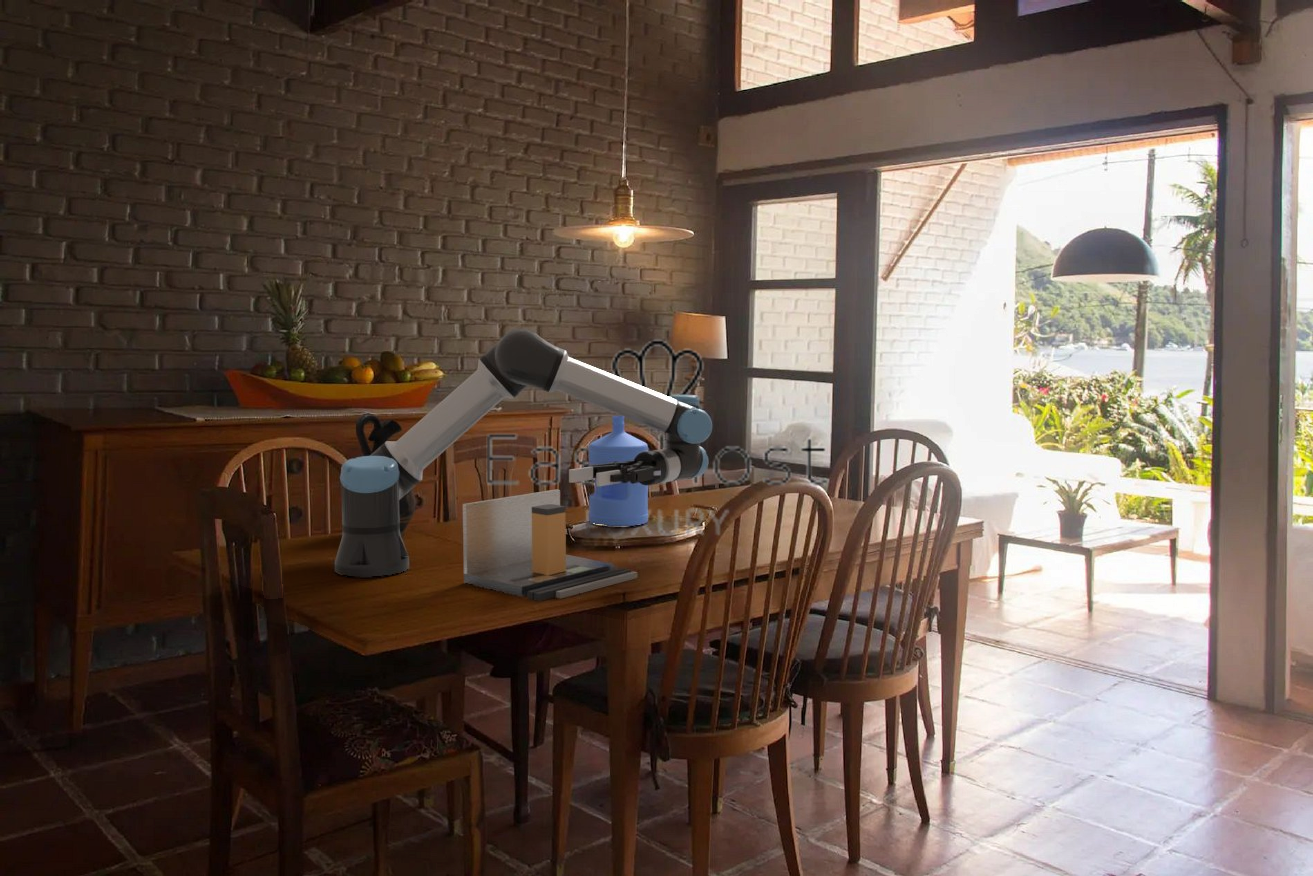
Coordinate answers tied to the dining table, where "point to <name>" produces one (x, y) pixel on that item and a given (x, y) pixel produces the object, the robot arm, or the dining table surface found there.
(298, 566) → the dining table surface
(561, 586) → the long grooved rail
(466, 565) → the l-shaped metal bracket
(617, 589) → the dining table surface
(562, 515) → the lever
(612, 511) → the water jug
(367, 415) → the ceramic jug
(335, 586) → the dining table surface
